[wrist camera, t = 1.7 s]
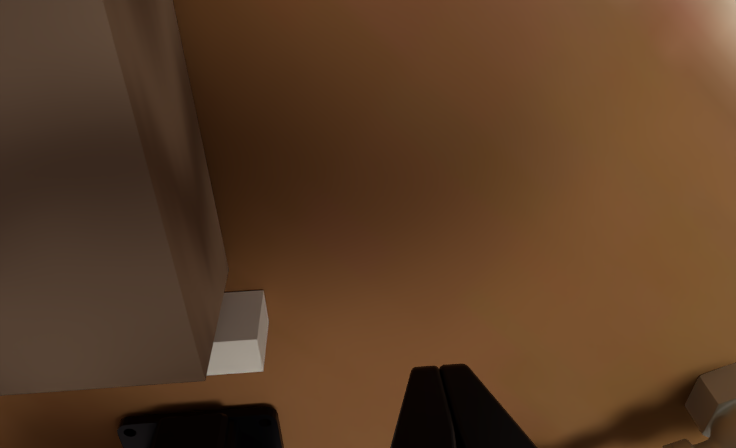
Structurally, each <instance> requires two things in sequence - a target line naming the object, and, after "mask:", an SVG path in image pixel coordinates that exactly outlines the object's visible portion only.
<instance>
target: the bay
mask: <svg viewBox="0 0 736 448" xmlns="http://www.w3.org/2000/svg"><path fill="white" fill-rule="evenodd" d="M268 324H269V319H268V314H267V308H266V302H265V296H264V290H259V291H244V292H229V293H224V295H223V300H222V304H221V309H220V314H219V319H218V323H217V328H216V333H215V337H214V342H213V347H212V352H211V356H210V361H209V366H208V371H207V375H220V374H234V373H248V372H262V371H263V369H264V360H265V351H266V342H267V333H268Z"/></svg>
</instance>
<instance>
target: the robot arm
mask: <svg viewBox="0 0 736 448" xmlns="http://www.w3.org/2000/svg"><path fill="white" fill-rule="evenodd" d="M117 432H118V436H119V438H120V440H121V443H122V445H123V448H284V445H283V440H282V434H281V429H280V423H279V418H278V413H277V411H276V410H274V409H273V408H270V407H255V408H242V409H228V410H214V411H201V412H187V413H174V414H160V415H146V416H133V417H126V418H124V419H122V420H121V422H120V424H119V427H118V430H117ZM390 448H537V447H536V446H535V444H534V443H533V442H532V441H531V440H530V439H529V437H528V436H527V435H526V434H525V433H524V431H523V430H522V429H521V428H520V427H519V426H518V424H517V423H516V422H515V421H514V420H513V419H512V417H511V416H510V415H509V414H508V413H507V411H506V410H505V409H504V408H503V407H502V406H501V404H500V403H499V402H498V401H497V400H496V399H495V397H494V396H493V395H492V394H491V393H490V392H489V390H488V389H487V388H486V387H485V386H484V384H483V383H482V382H481V381H480V380H479V379H478V377H477V376H476V375H475V374H474V373H473V372H472V370H471V369H470V368H469V367H468V366H467V365H465V364H450V365H442V366H441V367H440V368H438V367H437V366H423V367H414V368H413V369H412V370H411V373H410V377H409V381H408V384H407V388H406V392H405V396H404V399H403V403H402V407H401V410H400V414H399V418H398V421H397V425H396V429H395V433H394V436H393V440H392V444H391V447H390Z"/></svg>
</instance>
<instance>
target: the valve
mask: <svg viewBox="0 0 736 448" xmlns="http://www.w3.org/2000/svg"><path fill="white" fill-rule="evenodd" d="M685 407H686V409H687V411H688V412H689V414H690V415H691V417H692V419H693V420H694V422H695V424H696V425H697V427H698V428H699V430H700V432H701V433H702V435H704V436H707V437H709V439H708V440H706V441H704V442H701V443H698V444H695V445H691V443H690V442H689V441H688V440H687V439H682V440H679V441H676V442H673V443H670V444H667V445H664V446H663V448H736V362H735V363H733V364H730V365H727V366H724V367H722V368H719V369H716V370H713V371H710V372H708V373H705V374H702V375H701V376H699V377H698V379H697V381H696V383H695V385H694V387H693V389H692V391H691V393H690V395H689V397H688V399H687V401H686V403H685Z"/></svg>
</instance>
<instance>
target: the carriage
mask: <svg viewBox="0 0 736 448" xmlns="http://www.w3.org/2000/svg"><path fill="white" fill-rule="evenodd" d="M228 271H229V268H228V263H227V259H226V254H225V249H224V244H223V239H222V235H221V230H220V225H219V220H218V215H217V210H216V206H215V201H214V196H213V191H212V186H211V182H210V177H209V172H208V167H207V162H206V158H205V153H204V148H203V143H202V138H201V134H200V129H199V124H198V119H197V114H196V110H195V105H194V100H193V95H192V90H191V86H190V81H189V76H188V71H187V66H186V61H185V57H184V52H183V47H182V42H181V37H180V33H179V28H178V23H177V18H176V13H175V9H174V4H173V0H0V396H2V395H16V394H30V393H43V392H57V391H71V390H85V389H99V388H113V387H127V386H141V385H155V384H169V383H183V382H197V381H205V380H206V375H207V371H208V366H209V361H210V356H211V352H212V347H213V342H214V337H215V333H216V328H217V323H218V319H219V314H220V309H221V304H222V300H223V295H224V290H225V286H226V281H227V276H228Z"/></svg>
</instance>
